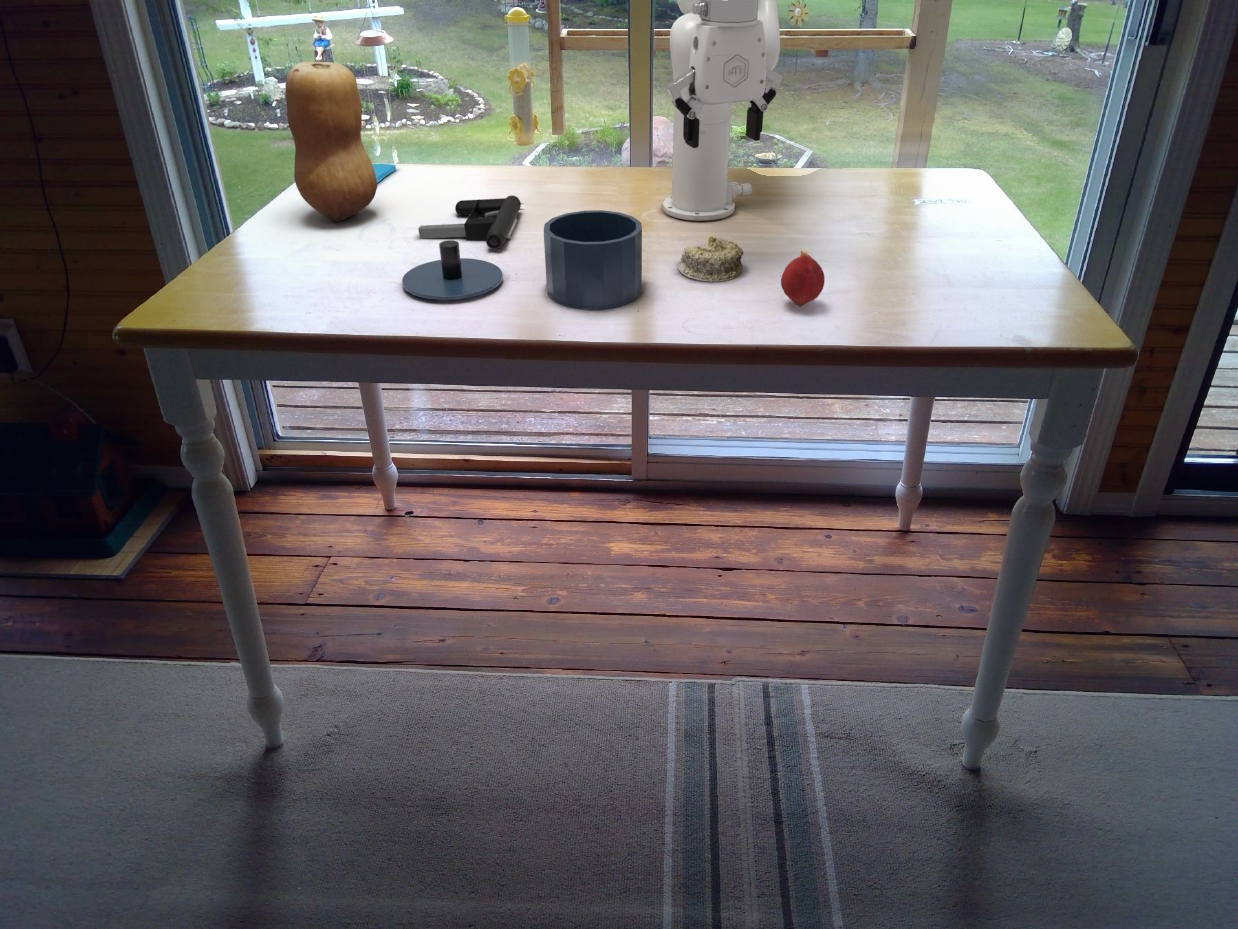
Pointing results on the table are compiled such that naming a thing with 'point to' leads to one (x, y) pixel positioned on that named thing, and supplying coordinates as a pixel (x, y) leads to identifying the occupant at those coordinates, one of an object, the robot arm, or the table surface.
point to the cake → (712, 261)
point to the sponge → (383, 170)
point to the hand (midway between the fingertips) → (722, 141)
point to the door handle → (480, 221)
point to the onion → (802, 279)
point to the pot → (593, 259)
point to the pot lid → (452, 276)
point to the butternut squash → (329, 139)
